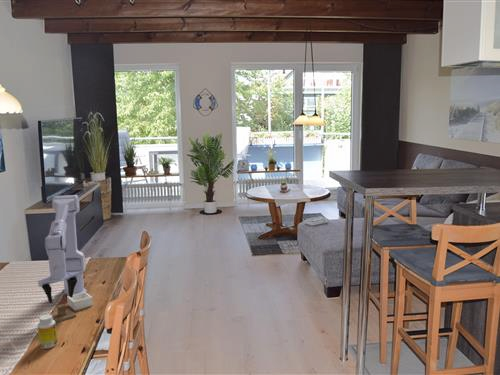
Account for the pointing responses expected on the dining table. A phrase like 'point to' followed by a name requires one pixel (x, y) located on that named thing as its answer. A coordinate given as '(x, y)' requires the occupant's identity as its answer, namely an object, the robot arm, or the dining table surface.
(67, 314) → the lid
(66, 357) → the dining table surface
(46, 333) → the supplement bottle
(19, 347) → the dining table surface
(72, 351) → the dining table surface
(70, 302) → the dish
